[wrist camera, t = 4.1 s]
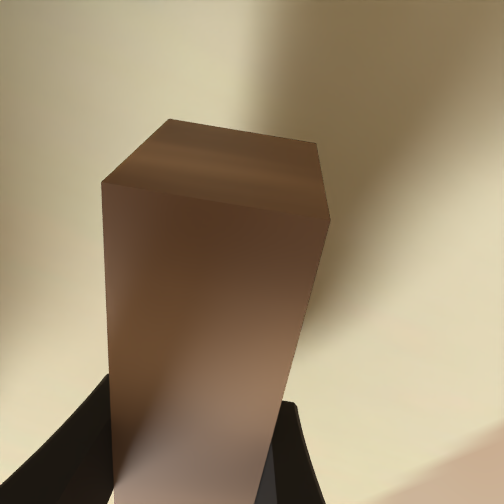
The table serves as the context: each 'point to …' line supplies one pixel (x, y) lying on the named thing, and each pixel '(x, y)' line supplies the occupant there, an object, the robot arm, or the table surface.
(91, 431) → the robot arm
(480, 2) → the table surface
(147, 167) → the rail
